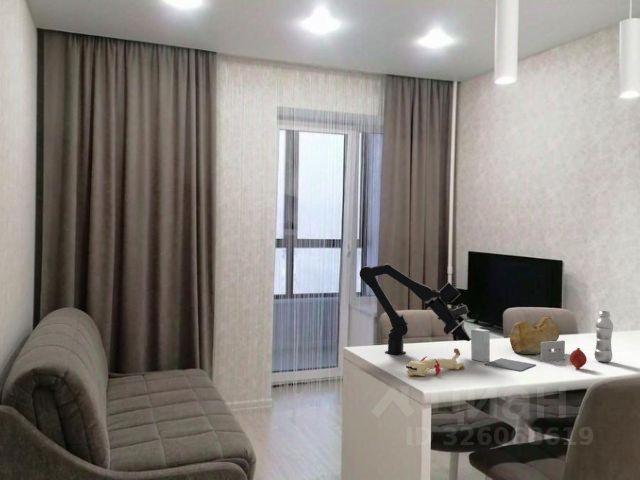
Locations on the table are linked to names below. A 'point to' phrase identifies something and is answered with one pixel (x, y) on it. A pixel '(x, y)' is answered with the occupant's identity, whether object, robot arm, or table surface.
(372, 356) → the table surface
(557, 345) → the cassette
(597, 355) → the plastic bottle
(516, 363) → the felt mat
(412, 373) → the cat figure
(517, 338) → the rough brown rock
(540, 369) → the table surface
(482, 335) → the skincare box
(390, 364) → the table surface
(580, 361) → the onion
